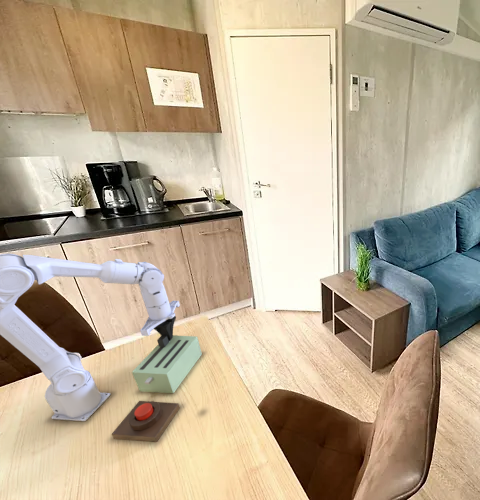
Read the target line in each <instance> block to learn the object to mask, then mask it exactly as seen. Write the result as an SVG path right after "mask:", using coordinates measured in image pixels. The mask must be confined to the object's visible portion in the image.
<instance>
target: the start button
mask: <svg viewBox="0 0 480 500" xmlns="http://www.w3.org/2000/svg"><path fill="white" fill-rule="evenodd" d="M153 411H154V410H153V407H152V405H151V404H150V403H145V404H142V405H141V406H139V407H138V408H137V409H136V410H135V413H134V414H135V417H136V419H137V420H138V421H143V420H146V419H147V418H149V417H150V416H151V415H152V414H153Z"/></svg>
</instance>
